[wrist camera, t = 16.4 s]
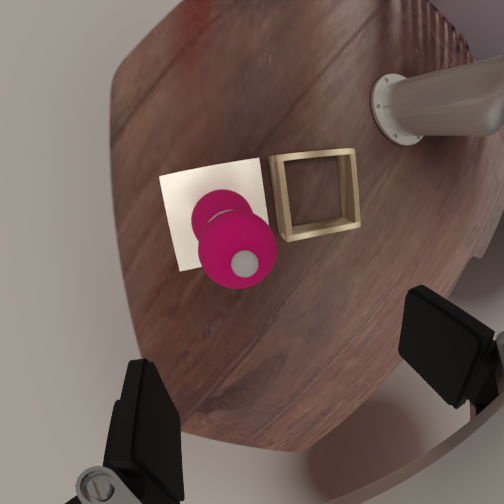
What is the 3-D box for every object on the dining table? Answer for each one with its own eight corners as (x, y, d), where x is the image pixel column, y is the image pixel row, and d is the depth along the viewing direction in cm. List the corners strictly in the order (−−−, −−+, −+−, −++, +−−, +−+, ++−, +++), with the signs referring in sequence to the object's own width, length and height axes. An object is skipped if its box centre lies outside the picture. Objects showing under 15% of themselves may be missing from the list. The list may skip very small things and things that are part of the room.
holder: (340, 148, 38) (354, 148, 34) (346, 221, 42) (360, 227, 38) (267, 156, 36) (276, 155, 33) (278, 234, 40) (287, 242, 36)
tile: (257, 158, 36) (258, 157, 35) (270, 249, 40) (272, 251, 39) (159, 176, 34) (159, 176, 33) (180, 268, 39) (180, 271, 38)
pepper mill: (219, 252, 38) (245, 336, 19) (179, 215, 35) (164, 271, 17) (257, 213, 37) (322, 264, 19) (219, 175, 35) (249, 185, 16)
